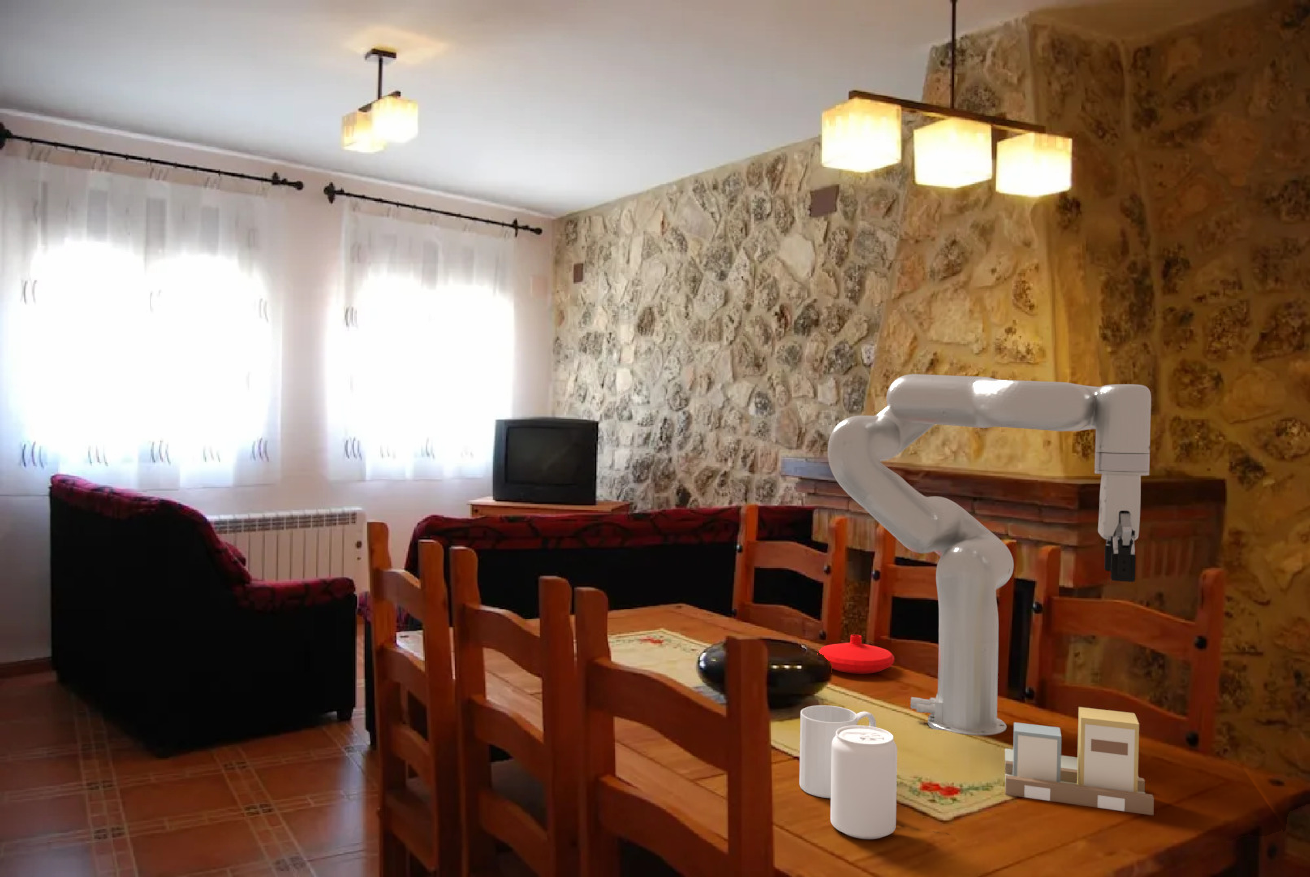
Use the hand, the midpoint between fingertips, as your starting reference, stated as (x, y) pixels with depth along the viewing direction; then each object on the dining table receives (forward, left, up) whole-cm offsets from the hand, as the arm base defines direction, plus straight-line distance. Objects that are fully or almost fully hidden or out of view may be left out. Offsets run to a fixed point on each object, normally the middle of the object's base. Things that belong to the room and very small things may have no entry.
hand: (1119, 576), depth 145 cm
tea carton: (-3, -19, -27) cm, 34 cm away
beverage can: (-33, -40, -28) cm, 59 cm away
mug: (-38, -27, -28) cm, 55 cm away
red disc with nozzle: (-45, +37, -29) cm, 65 cm away
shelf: (-7, -14, -28) cm, 32 cm away
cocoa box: (-12, -20, -27) cm, 36 cm away
